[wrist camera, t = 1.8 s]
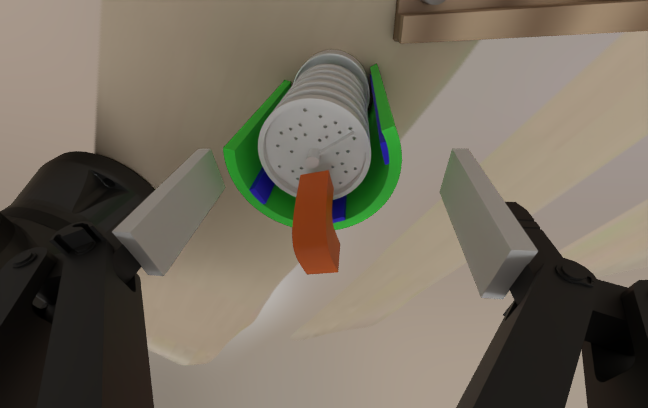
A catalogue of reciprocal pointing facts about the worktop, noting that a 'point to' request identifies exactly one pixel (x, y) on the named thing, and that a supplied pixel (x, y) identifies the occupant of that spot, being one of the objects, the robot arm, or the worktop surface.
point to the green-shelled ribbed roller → (319, 155)
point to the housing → (514, 18)
